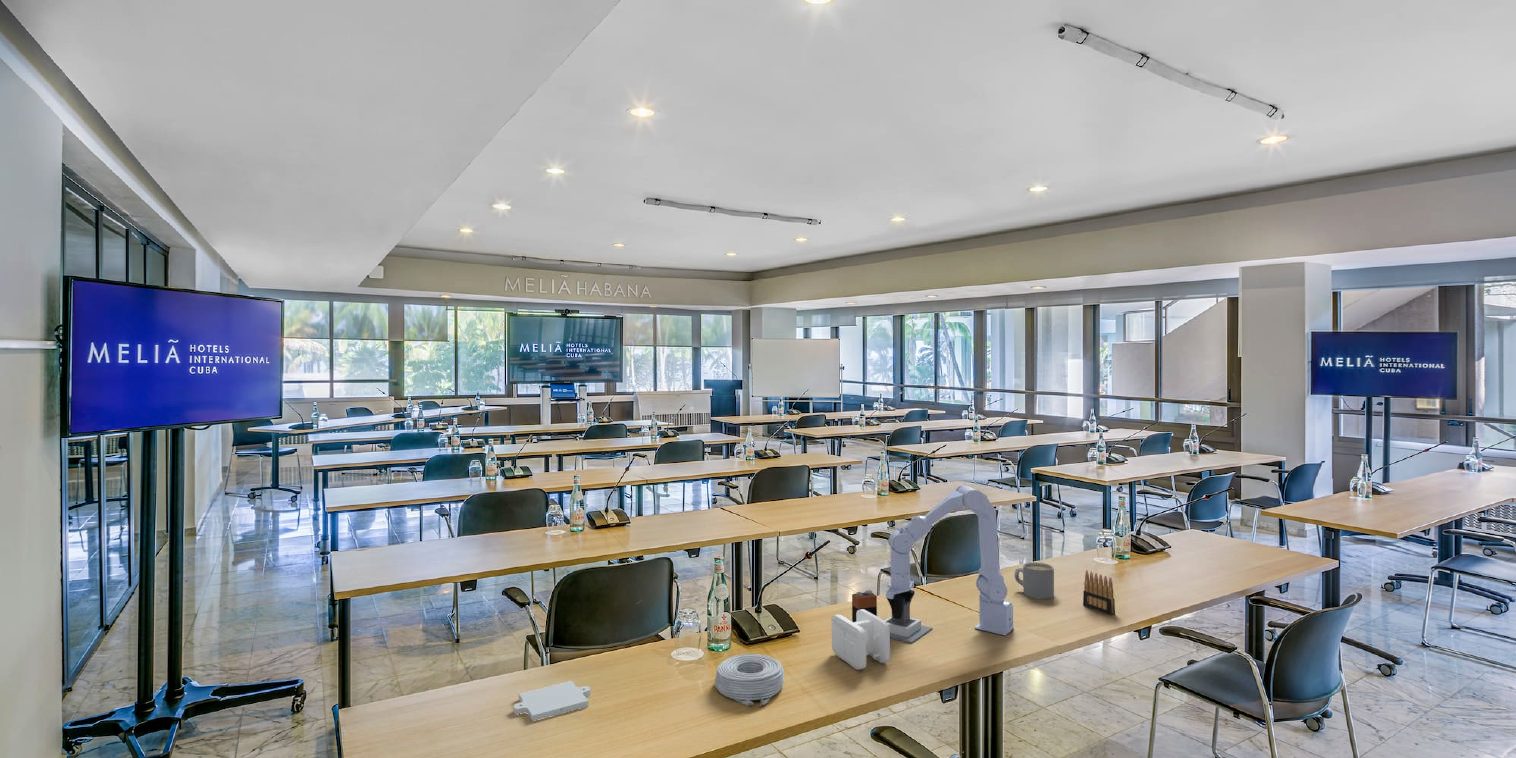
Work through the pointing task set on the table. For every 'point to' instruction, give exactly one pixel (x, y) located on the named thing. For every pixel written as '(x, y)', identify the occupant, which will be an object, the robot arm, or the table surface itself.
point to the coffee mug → (1037, 580)
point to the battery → (864, 603)
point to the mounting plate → (552, 700)
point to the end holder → (907, 630)
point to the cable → (749, 678)
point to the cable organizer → (861, 639)
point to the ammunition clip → (1098, 594)
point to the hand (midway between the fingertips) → (900, 616)
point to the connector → (903, 614)
